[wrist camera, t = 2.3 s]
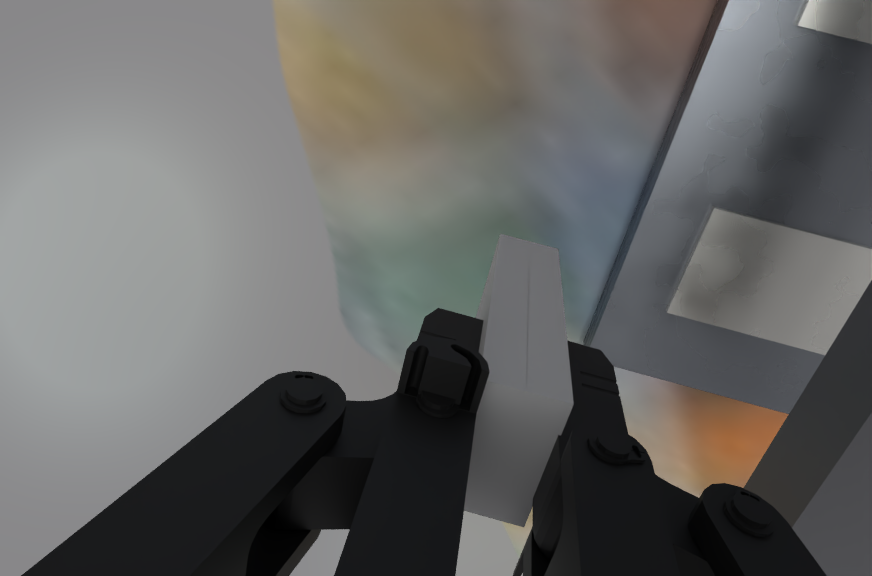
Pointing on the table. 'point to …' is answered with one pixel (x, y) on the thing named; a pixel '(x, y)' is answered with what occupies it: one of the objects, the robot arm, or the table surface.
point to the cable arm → (829, 454)
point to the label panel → (752, 208)
